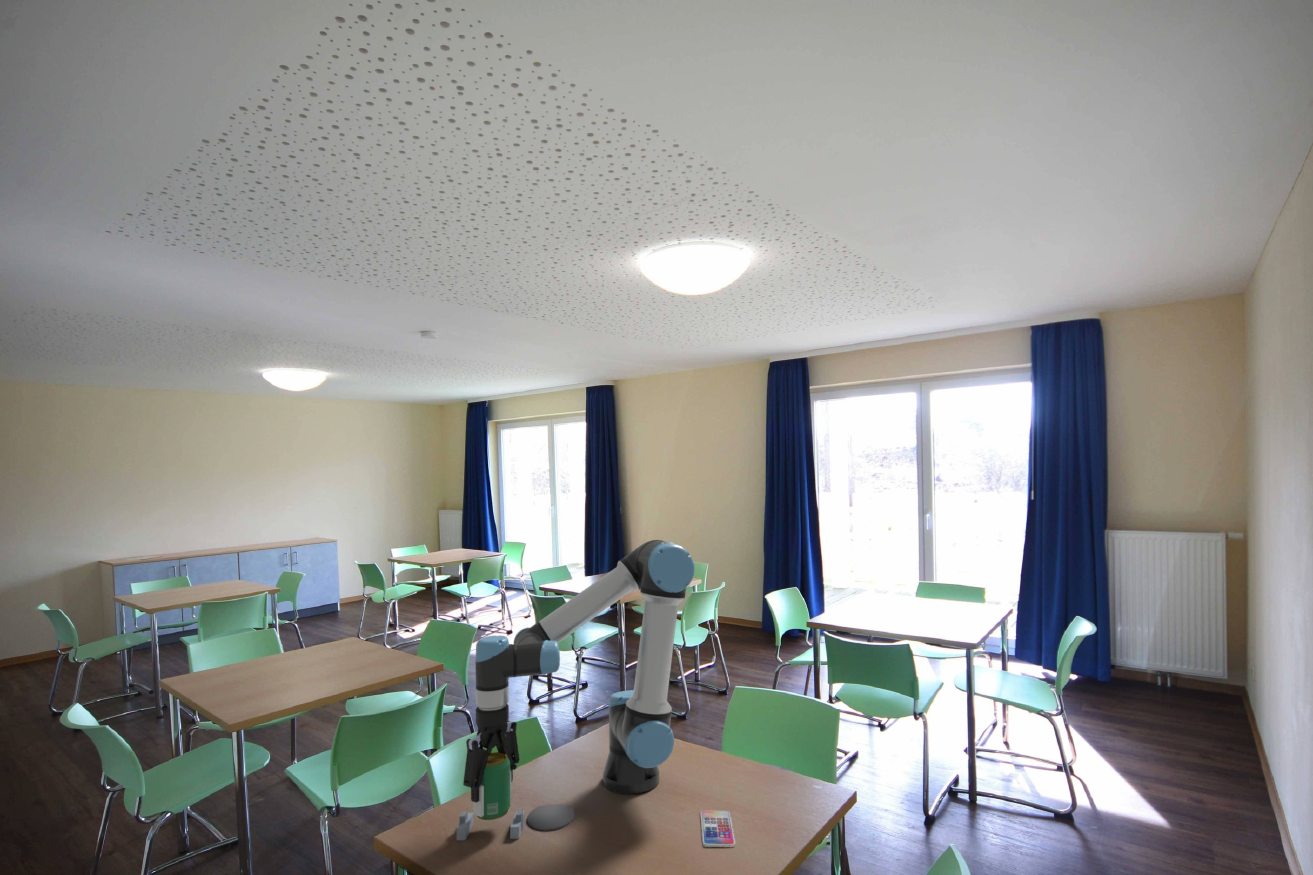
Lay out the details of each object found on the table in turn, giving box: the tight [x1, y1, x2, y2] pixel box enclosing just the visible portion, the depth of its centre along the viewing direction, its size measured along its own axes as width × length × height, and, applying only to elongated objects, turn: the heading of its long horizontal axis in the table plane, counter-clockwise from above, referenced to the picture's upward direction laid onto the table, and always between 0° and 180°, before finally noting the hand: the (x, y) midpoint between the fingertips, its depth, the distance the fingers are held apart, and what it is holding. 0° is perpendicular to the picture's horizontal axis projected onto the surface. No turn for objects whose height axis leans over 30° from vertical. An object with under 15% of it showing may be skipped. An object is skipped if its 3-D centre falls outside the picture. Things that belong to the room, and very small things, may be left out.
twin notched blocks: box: [456, 808, 526, 841], centre depth 146 cm, size 14×7×4 cm, turn 92°
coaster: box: [527, 803, 575, 832], centre depth 151 cm, size 11×11×1 cm
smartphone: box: [699, 809, 736, 848], centre depth 145 cm, size 7×1×15 cm
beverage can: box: [476, 751, 511, 821], centre depth 146 cm, size 8×8×12 cm
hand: (492, 805), depth 146 cm, fingers closed on beverage can, 8 cm apart
